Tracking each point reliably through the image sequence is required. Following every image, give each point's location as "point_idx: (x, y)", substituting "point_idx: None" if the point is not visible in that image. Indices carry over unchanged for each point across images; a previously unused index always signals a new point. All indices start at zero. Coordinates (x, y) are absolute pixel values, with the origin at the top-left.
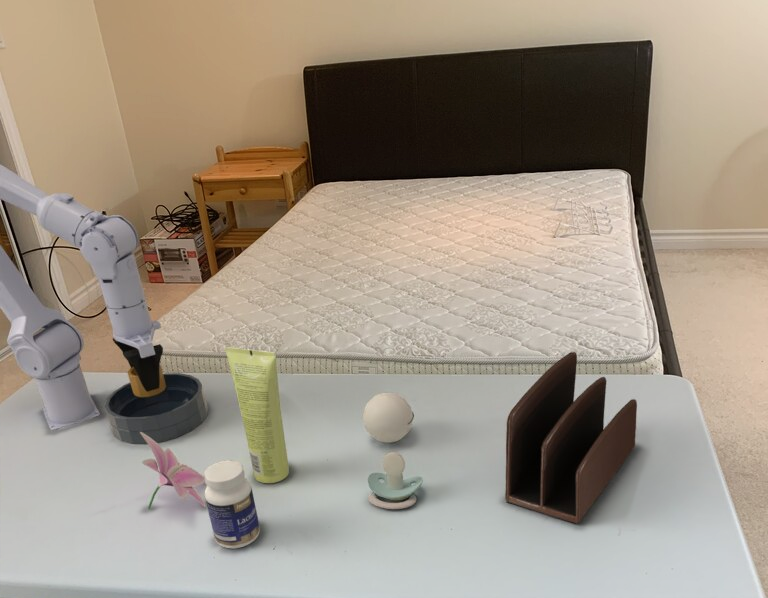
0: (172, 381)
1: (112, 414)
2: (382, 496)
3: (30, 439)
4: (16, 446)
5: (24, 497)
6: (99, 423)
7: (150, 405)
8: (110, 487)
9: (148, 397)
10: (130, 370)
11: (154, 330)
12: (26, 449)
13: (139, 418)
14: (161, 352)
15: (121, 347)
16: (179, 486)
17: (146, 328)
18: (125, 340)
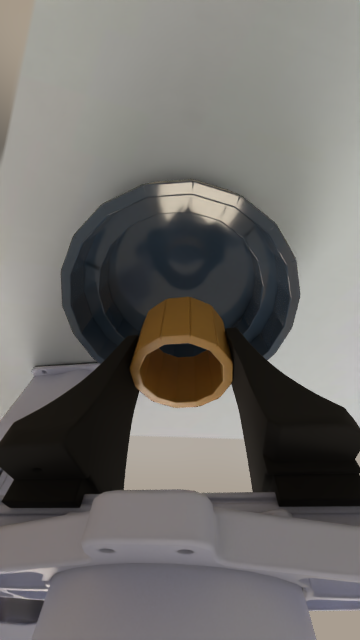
0: (84, 254)
1: None
2: None
3: (135, 422)
4: (145, 431)
5: None
6: None
7: (113, 295)
8: (325, 370)
9: (106, 303)
10: (166, 401)
11: (227, 518)
12: (158, 425)
13: (272, 355)
14: (350, 416)
15: (121, 474)
16: None
17: (303, 625)
18: (309, 606)
